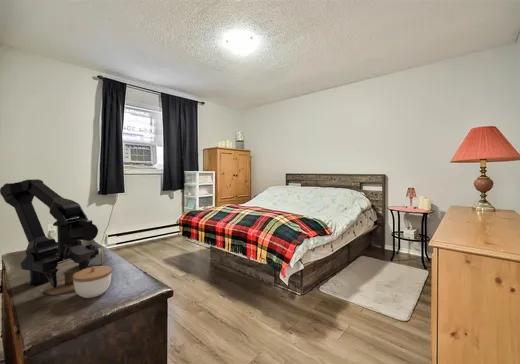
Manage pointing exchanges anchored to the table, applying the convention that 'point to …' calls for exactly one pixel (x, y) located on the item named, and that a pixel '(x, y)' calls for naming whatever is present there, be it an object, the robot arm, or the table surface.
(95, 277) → the lidded jar
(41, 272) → the robot arm
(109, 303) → the table surface
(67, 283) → the lid
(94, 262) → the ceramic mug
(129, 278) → the table surface
